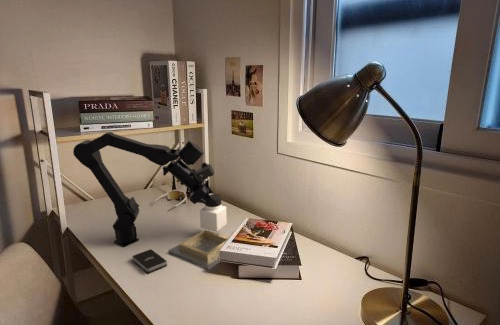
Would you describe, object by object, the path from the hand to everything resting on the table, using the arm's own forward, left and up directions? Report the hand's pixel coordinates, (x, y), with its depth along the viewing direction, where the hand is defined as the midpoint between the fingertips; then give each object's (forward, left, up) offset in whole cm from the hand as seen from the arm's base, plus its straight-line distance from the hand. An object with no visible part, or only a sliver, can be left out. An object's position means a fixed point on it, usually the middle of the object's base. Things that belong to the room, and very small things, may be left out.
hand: (216, 202), depth 126 cm
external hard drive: (-27, +6, -14) cm, 31 cm away
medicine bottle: (-1, +1, -9) cm, 10 cm away
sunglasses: (+12, +40, -14) cm, 44 cm away
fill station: (-10, -3, -13) cm, 17 cm away
